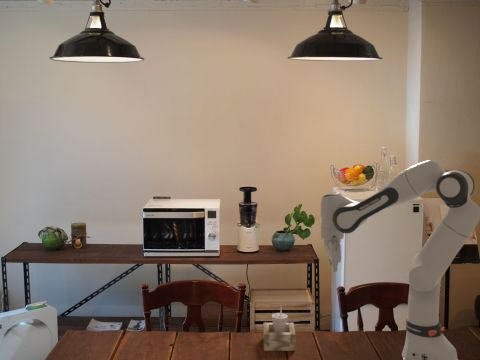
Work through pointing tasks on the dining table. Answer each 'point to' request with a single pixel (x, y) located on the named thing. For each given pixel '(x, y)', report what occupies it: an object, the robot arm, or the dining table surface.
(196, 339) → the dining table surface
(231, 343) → the dining table surface
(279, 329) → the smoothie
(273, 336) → the box
